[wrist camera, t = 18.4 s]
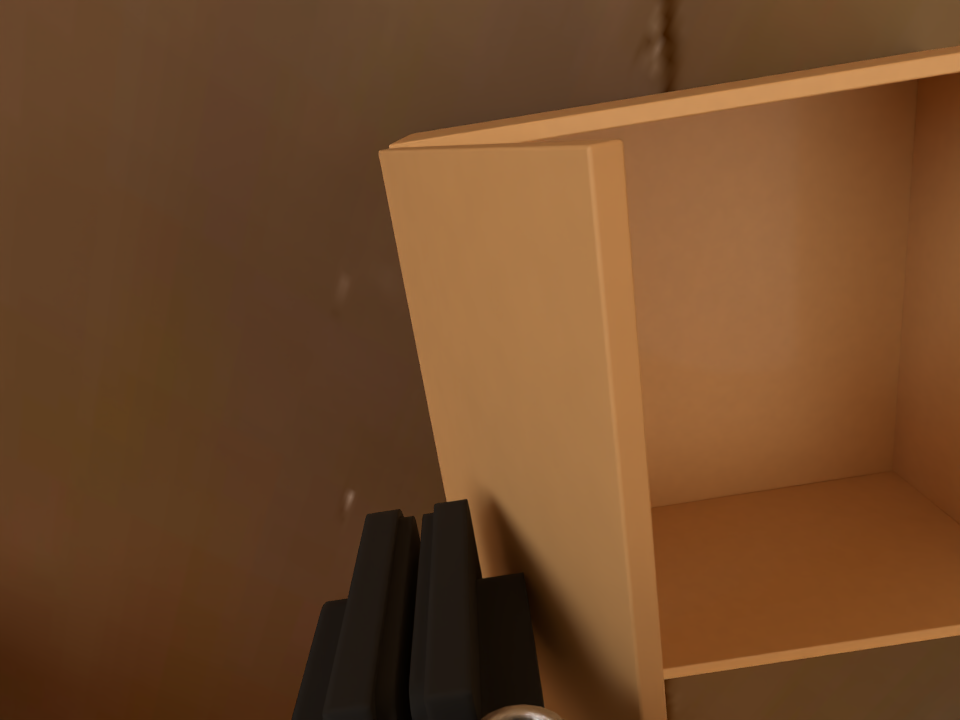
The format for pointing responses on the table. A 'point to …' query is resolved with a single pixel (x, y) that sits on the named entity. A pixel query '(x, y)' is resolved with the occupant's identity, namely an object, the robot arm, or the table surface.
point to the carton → (792, 351)
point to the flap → (540, 396)
